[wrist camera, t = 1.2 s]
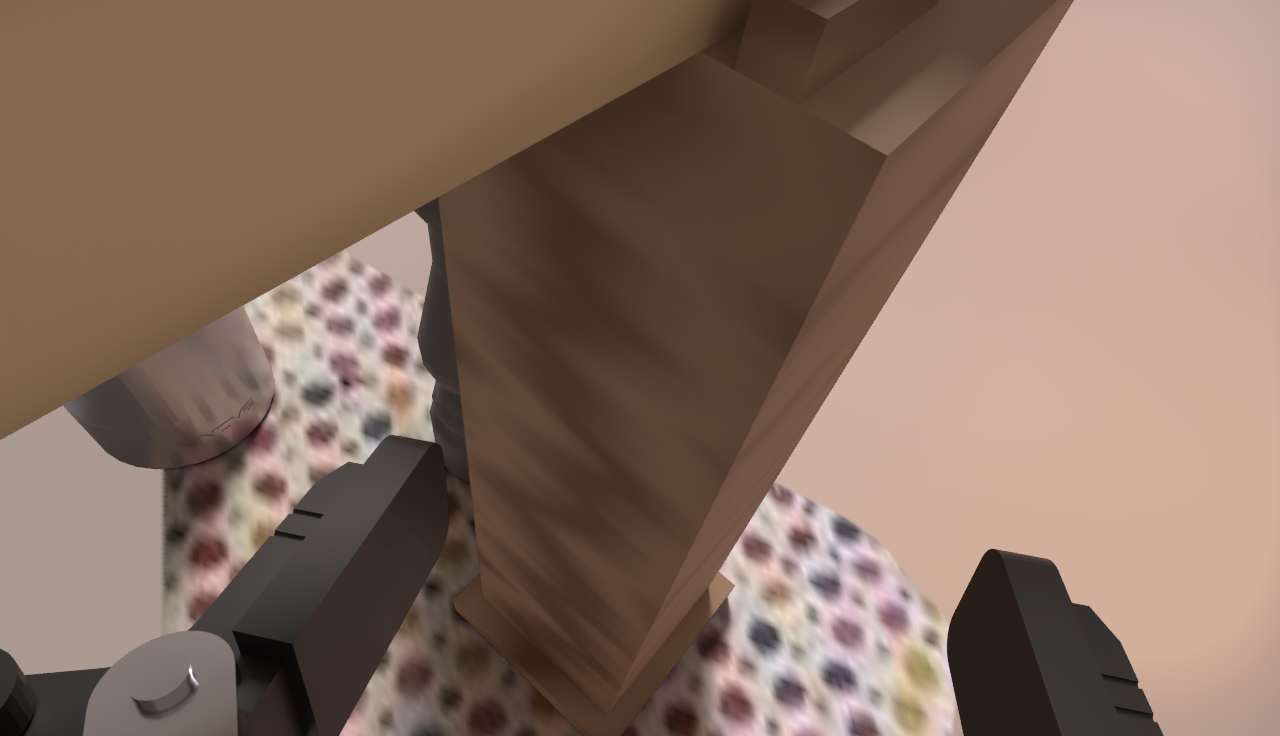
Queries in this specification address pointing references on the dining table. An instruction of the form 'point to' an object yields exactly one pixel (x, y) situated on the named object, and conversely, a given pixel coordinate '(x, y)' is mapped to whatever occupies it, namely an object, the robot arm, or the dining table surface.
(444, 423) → the candle holder
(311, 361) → the dining table surface
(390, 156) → the mallet
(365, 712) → the dining table surface
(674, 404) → the stand
